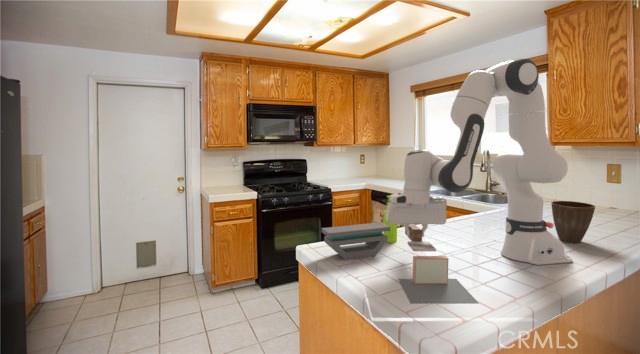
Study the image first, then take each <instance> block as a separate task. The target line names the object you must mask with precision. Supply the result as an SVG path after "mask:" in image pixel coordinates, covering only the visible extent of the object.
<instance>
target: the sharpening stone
mask: <svg viewBox="0 0 640 354" xmlns="http://www.w3.org/2000/svg"><path fill="white" fill-rule="evenodd" d="M384 231H390V227H389V226H387V225H385V224H383V222H379V221H378V222H370V223H360V224H359V223H358V224H351V225H350V224H349V225H341V226H329V227H321V233H322V234H323V235H324V243H325V244H326V245H327V246H328V247H330V248H331V249H332V250H333V251H334V252H335V253H336V254H338V255H339V256H340V257H342V258H343V260H345V261H353V260H360V259H366V258H367V259H368V258H373V257H376V255H377V254H378V253H379V252H380V250H381V249H383V247H384V246H385V245H386V244H387V243H388V242H387V237H388V236H387V235H385V234H383V232H384Z"/></svg>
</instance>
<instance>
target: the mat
mask: <svg viewBox="0 0 640 354" xmlns="http://www.w3.org/2000/svg"><path fill="white" fill-rule="evenodd" d="M397 281H398V282H399V284H400V286H401V288H402V289H403V292H404V293H405V295H406V298H407V299H408V301H409V303H410V305H412V304H415V305H416V304H418V305H419V304H425V305H426V304H479V301H478V300H477V299H476V298H475V297H474V296H473V295H472V294H471V293H470V292H469V290H467V289H466V288H465V287H464V285H463V284H462V283H460V281H459V280H458V279H457V278H448V284H414V283H413V282H412V278H397Z"/></svg>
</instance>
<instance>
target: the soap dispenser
mask: <svg viewBox="0 0 640 354" xmlns="http://www.w3.org/2000/svg"><path fill="white" fill-rule="evenodd" d="M390 195H391V194H390ZM390 195H386V198H388V201H387V202H386V205H385V207H386V209H385V210H383V216H382V217H383V220H382V221H383V222H382V223H383V224H385V225H387V226H389V227H390V231H384V232H383V234H385V235H387V236H388V237H387V242H386V243H391V244H392V243H397V241H398V224H389V223H388V222H387V221H386V212H387V206H388V204H389V203H390V202H391V200H390Z"/></svg>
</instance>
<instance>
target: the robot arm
mask: <svg viewBox="0 0 640 354" xmlns="http://www.w3.org/2000/svg"><path fill="white" fill-rule="evenodd" d="M539 75H540V74H539V69H538V66H537V65H536V63H535V62H534V61H533V60H532V59H529V58H516V59H513V60H507V61H505V62H501V63H499V64H496V65H494V66H492V67H487V68H486V69H484V70H475V71H472V72H471V73H469V74H468V76H466V78H465V80H464V81H463V82H462V84H461V86H460V88H459V90H458V91H457V94H456V96H455V99H454V101H453V103H452V106H451V110H450V113H449V114H450V118H451V121H452V123H453V124H454V125H455V126H456V127H458V129H459V130H460V136H459V139H458V141H457V145H456V148H455V151H454V154H453V157H452V158H450V159H449V160H448V159H443V158H442V157H439V156H437V155H435V154H433V153H432V152H431V151H430V150H428V149H417V150H413V151H409V152H408V153H407V154H406V157H405V159H404V167H403V177H404V178H403V179H404V185H403V190H402V191H399V192H394V193H392V194H390V200H391V202H390V203H389V204H388V206H387V212H386V221H387V222H388V223H389V224H397V225H403V226H404V230H405V229H406V230H407V235H406V237H412V231H409V229H408V227H409V224H415V225H421V226H422V228H421V229H420V230H422V238H424V236H425V232H426V230H427V229H428V227H429V226H428V225H445V224H446V223H447V211H446V210H447V205H448V203H447V199H445V198H443V197H441V196H439V197H435V196H431V187H432V186H434V187H438V188H441V189H443V190H446V191H448V192H450V193H452V194H453V193H454V194H455V193H457V194H458V193H461V192H464V191H465V190H467V189H468V188H469V186H470V185H471V183H472V182H473V177H474V163H475V160H476V156H477V153H478V151H479V147H480V144H481V141H482V137H483V135H484V130H485V117H486V115H487V112H488V109H489V107H490V104H491V102H492V98H495V97H504V96H505V97H506V98H507V101H508V135H509V136H510V139H512V140H514V141H515V142H517V143H518V144H519V146H520V148H521V149H522V151H516V150H515V151H513V150H512V151H505V152H501V153H498V154H496V156H495V158H493V161H492V171H493V173H494V175H495V176H496V177H498V178H499V180H500V182H502V183H501V184H503V187H504V189H505V192H506V196H507V216H506V217H505V238H504V243H503V246H502V249H501V251H500V254H501V255H502V256H504V257H506V258H508V259H510V260H514V261H519V262H522V263H523V262H524V263H527V264H531V265H536V266H540V265H553V264H563V263H564V264H566V263H573V258H572V257H571V256H570V255H569V254H567V253H565V251H566V250H565V246H564V245H565V244H564V243H563V241H561V240H559V238H558V237H556V236H555V235H554V234H552V232H550V231H548V228H549V229H553V228H555V224H554V222H550V221H545V220H544V219H543V216H544V215H543V214H544V200H543V198H542V196H541V195H540V194H538V193H537V191H535V190H534V188H533V187H532V184H531V183H533V184H544V185H545V184H553V183H559V182H561V181H562V180H563V179H564V178H565V177H566V175H567V173H568V170H569V166H568V162H567V160H566V158H565V157H564V156H563V155H562V154H560V153H559V152H557V150H555V148H554V147H553V145H552V144H551V142H550V141H549V137H548V135H547V131H546V128H547V127H546V106H545V105H546V104H545V97H544V92H543V88H542V85H541V84H540V83H539V78H540V77H539Z"/></svg>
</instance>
